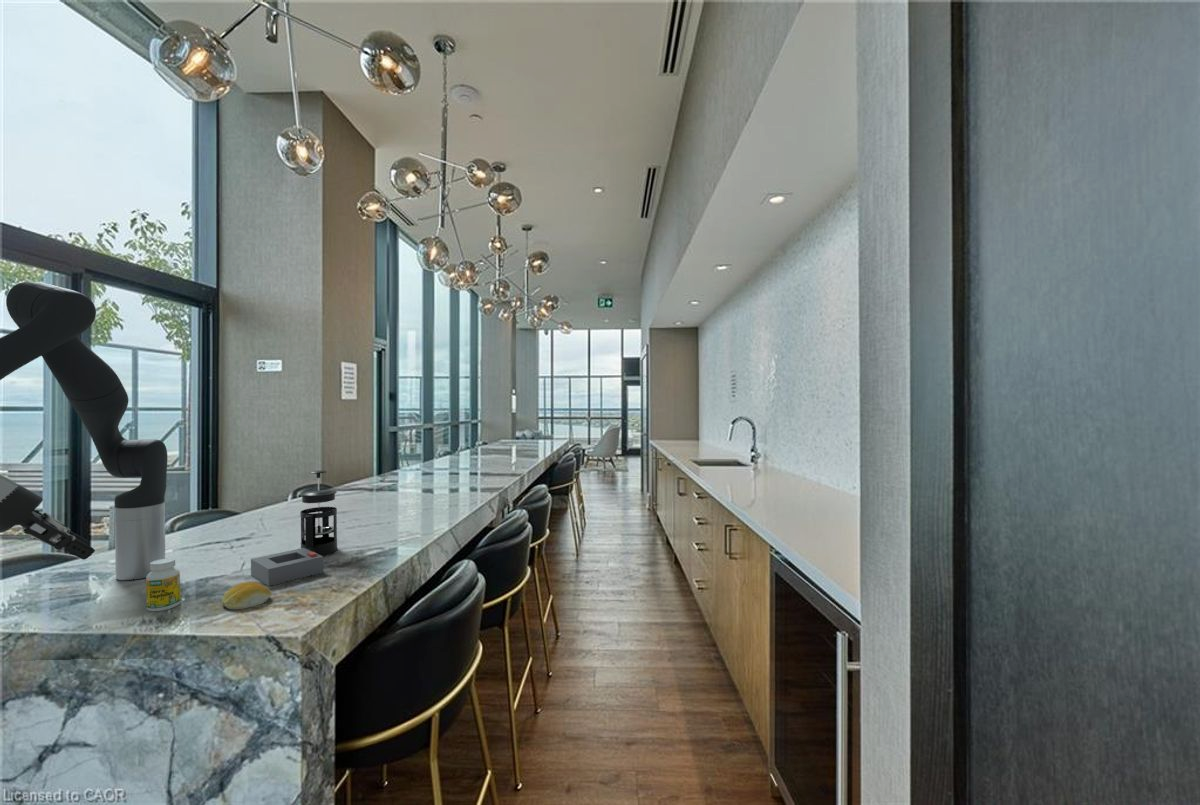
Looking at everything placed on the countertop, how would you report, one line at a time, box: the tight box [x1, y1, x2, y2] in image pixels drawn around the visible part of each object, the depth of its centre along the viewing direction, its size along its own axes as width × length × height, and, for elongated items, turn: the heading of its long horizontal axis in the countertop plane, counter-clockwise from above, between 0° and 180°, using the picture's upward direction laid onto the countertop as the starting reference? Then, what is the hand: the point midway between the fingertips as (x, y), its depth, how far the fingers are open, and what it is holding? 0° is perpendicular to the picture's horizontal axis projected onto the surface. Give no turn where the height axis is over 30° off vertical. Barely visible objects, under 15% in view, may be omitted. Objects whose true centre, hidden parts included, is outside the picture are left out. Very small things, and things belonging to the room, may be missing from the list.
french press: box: [299, 469, 339, 557], centre depth 144 cm, size 12×9×23 cm
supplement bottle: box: [145, 557, 181, 612], centre depth 107 cm, size 5×5×10 cm
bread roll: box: [221, 581, 272, 610], centre depth 110 cm, size 8×9×4 cm
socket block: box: [250, 547, 324, 587], centre depth 127 cm, size 12×12×5 cm
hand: (87, 550), depth 99 cm, fingers open, 8 cm apart
